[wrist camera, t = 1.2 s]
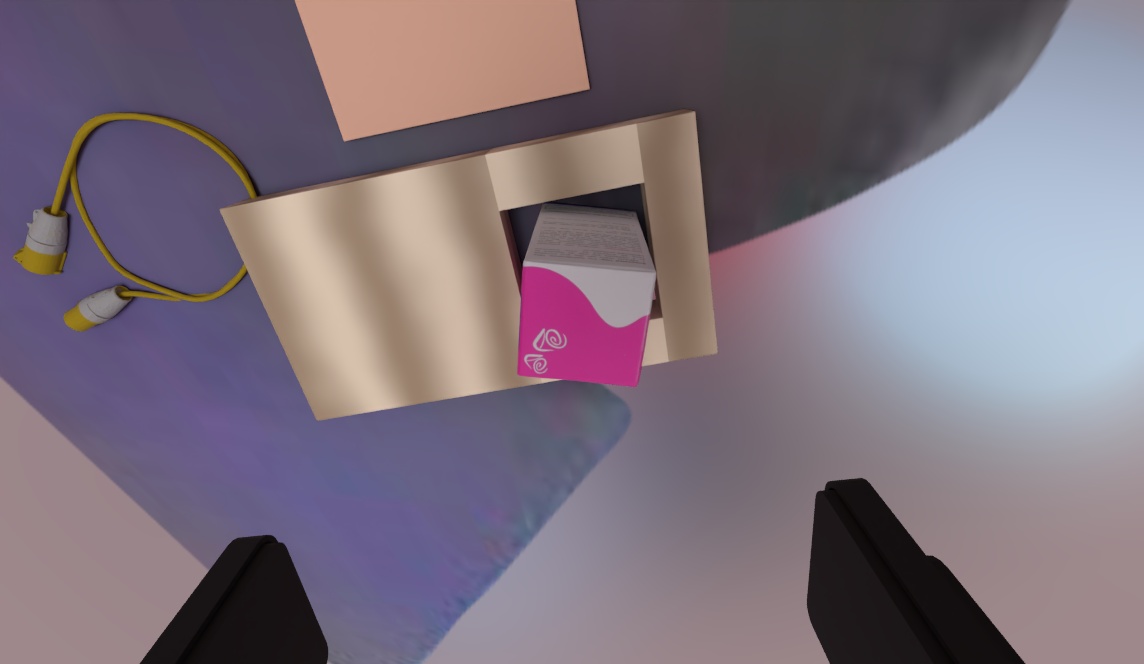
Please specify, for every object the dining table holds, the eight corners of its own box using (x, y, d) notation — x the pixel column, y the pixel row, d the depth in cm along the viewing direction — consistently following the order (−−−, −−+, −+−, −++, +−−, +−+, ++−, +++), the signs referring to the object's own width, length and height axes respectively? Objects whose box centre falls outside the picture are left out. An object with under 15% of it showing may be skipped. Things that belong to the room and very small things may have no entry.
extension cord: (-29, 136, 32) (-66, 139, 30) (228, 94, 31) (207, 95, 29) (78, 326, 37) (52, 339, 35) (303, 295, 36) (288, 307, 34)
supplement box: (539, 200, 33) (522, 256, 22) (637, 209, 33) (666, 269, 22) (532, 290, 35) (515, 379, 25) (624, 299, 35) (645, 391, 25)
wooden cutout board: (684, 108, 30) (695, 111, 28) (706, 333, 36) (717, 353, 33) (248, 198, 33) (219, 209, 30) (335, 396, 38) (317, 420, 36)
